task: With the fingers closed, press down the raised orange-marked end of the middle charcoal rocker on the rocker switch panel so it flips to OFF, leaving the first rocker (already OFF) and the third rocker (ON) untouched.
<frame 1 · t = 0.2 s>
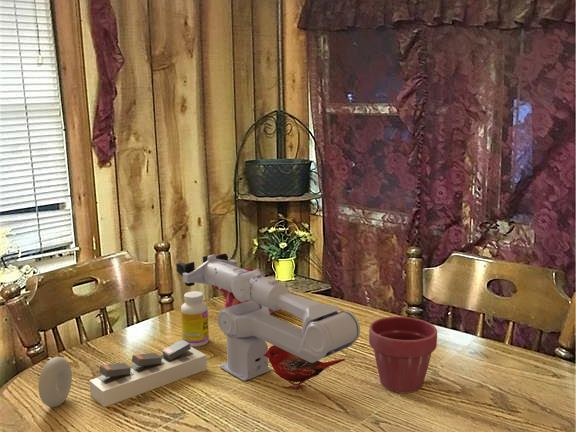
hand: (191, 263, 152), 21 cm above the table, tool horizontal, fingers open, 7 cm apart
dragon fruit: (245, 314, 176), on the table
rocker switch panel: (151, 381, 137), on the table
rocker 1: (176, 349, 141), point 5 cm above the table, hinge at -12.0°
rocker 2: (146, 359, 137), point 5 cm above the table, hinge at 12.0°
plant pot: (401, 383, 135), on the table
grey round disc: (58, 404, 128), on the table
rocker 3: (115, 369, 132), point 5 cm above the table, hinge at 12.0°
decorative bird figurine: (304, 388, 133), on the table, touching arm
supplement bottle: (195, 343, 157), on the table
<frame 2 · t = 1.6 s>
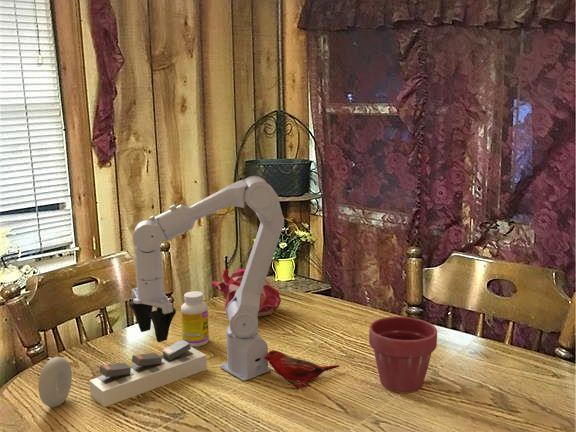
hand: (153, 335, 137), 10 cm above the table, tool pointing down, fingers open, 7 cm apart
decorative bird figurine: (308, 387, 133), on the table, touching arm
everything else where it was.
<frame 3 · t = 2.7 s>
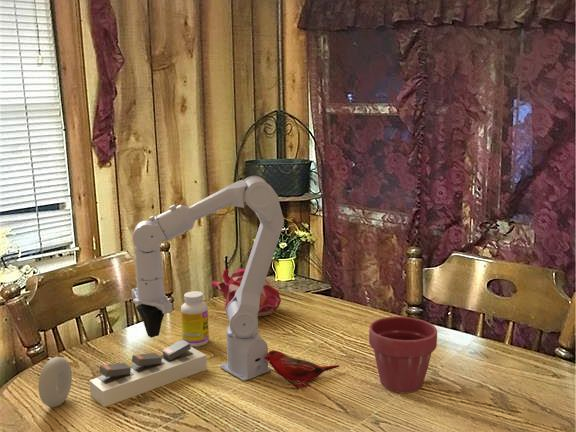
hand: (153, 335, 137), 10 cm above the table, tool pointing down, fingers closed
nothing on the table moved.
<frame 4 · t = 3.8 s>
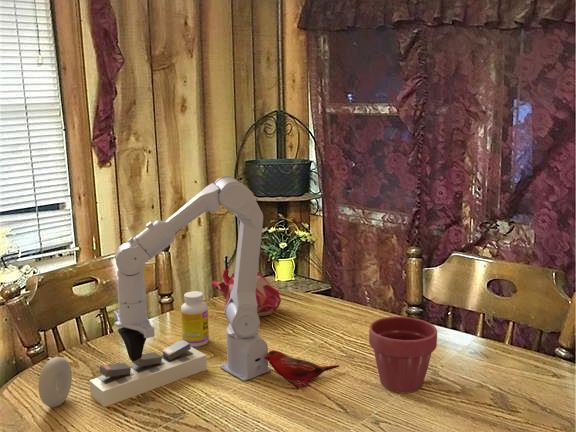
hand: (135, 359, 135), 6 cm above the table, tool pointing down, fingers closed, pressing on rocker 2
rocker 2: (146, 359, 137), point 5 cm above the table, hinge at 8.9°, touching gripper
everything else where it was.
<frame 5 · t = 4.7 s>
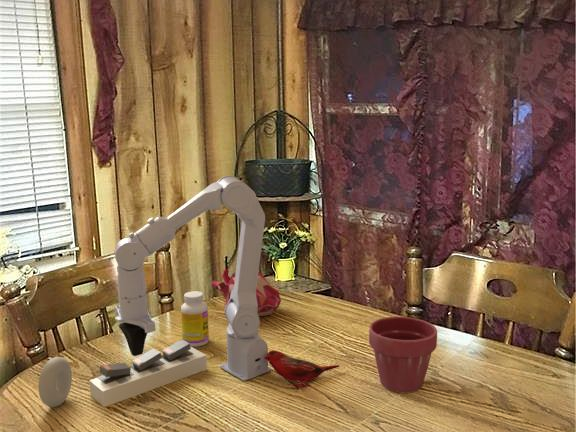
hand: (137, 354, 135), 7 cm above the table, tool pointing down, fingers closed
rocker 2: (146, 359, 137), point 5 cm above the table, hinge at -14.0°, touching rocker switch panel
everything else where it was.
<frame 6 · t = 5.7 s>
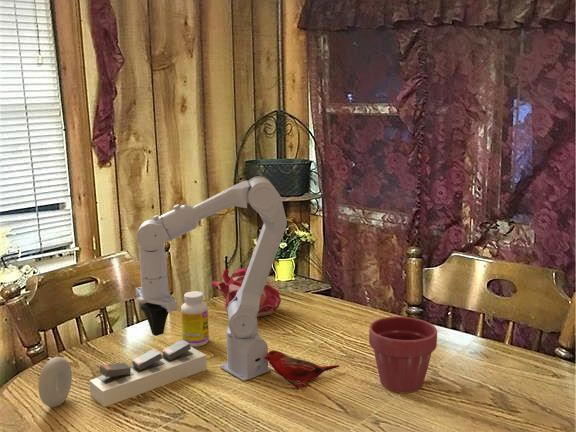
hand: (158, 334, 138), 10 cm above the table, tool pointing down, fingers closed
rocker 2: (146, 359, 137), point 5 cm above the table, hinge at -10.7°
everything else where it was.
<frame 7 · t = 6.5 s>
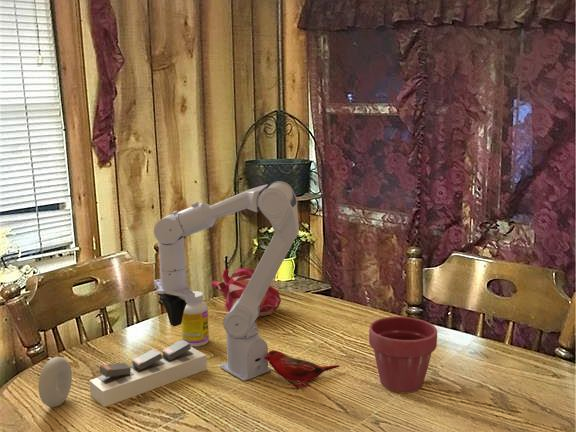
hand: (176, 324, 143), 10 cm above the table, tool pointing down, fingers closed
rocker 2: (146, 359, 137), point 5 cm above the table, hinge at -10.0°
everything else where it was.
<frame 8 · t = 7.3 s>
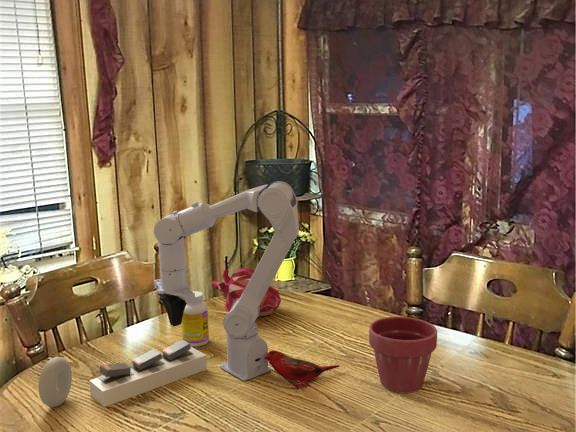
hand: (176, 324, 143), 10 cm above the table, tool pointing down, fingers closed
nothing on the table moved.
at the end: rocker 2 at -10° (first picture: +12°); rocker 3 at +12° (first picture: +12°); rocker 1 at -12° (first picture: -12°) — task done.
